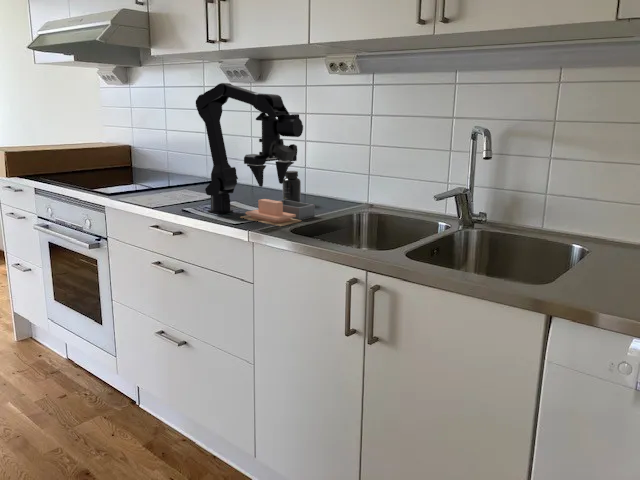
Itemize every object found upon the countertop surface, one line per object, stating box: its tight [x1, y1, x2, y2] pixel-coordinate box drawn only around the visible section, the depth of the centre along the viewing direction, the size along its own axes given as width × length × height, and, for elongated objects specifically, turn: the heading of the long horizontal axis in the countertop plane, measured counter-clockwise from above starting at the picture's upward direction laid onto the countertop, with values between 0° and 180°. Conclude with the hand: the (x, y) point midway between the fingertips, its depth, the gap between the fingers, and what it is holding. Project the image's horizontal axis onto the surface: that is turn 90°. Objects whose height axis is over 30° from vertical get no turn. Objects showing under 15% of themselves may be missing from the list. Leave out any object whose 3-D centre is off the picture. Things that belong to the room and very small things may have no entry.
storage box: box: [278, 199, 316, 220], centre depth 187 cm, size 14×8×4 cm, turn 51°
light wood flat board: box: [239, 214, 303, 227], centre depth 180 cm, size 18×10×1 cm, turn 51°
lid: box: [245, 198, 296, 223], centre depth 179 cm, size 14×8×6 cm, turn 51°
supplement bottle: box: [282, 170, 302, 203], centre depth 208 cm, size 7×7×12 cm
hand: (271, 185), depth 177 cm, fingers open, 9 cm apart
